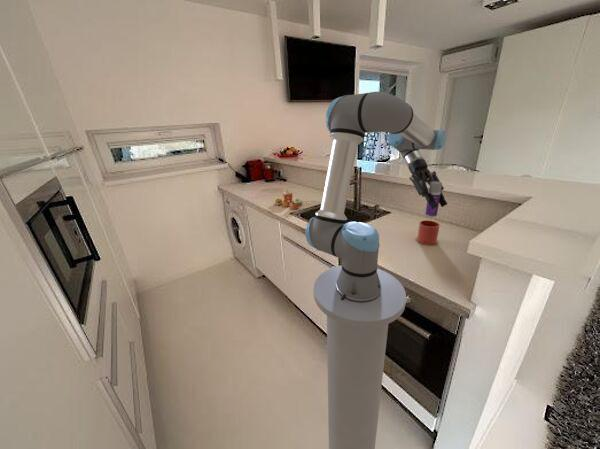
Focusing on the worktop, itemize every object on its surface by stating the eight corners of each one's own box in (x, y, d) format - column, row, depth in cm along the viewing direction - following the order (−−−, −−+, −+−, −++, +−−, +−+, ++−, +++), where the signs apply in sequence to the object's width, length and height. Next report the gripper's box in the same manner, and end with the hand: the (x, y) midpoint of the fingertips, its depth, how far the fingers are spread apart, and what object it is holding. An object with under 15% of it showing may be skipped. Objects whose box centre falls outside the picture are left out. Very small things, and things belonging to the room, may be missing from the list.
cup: (426, 246, 112) (429, 228, 108) (413, 239, 119) (415, 222, 115) (440, 242, 114) (443, 225, 111) (426, 236, 121) (429, 219, 118)
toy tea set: (271, 204, 185) (270, 191, 181) (287, 199, 194) (286, 187, 191) (294, 211, 167) (293, 197, 163) (310, 205, 176) (309, 192, 172)
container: (429, 217, 109) (434, 184, 103) (423, 213, 113) (427, 181, 107) (439, 216, 109) (444, 183, 104) (432, 212, 114) (437, 180, 108)
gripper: (425, 166, 120) (448, 207, 112) (395, 170, 115) (418, 213, 107) (436, 156, 113) (461, 199, 105) (405, 159, 108) (429, 205, 100)
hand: (439, 206), depth 106 cm, fingers closed on container, 5 cm apart
